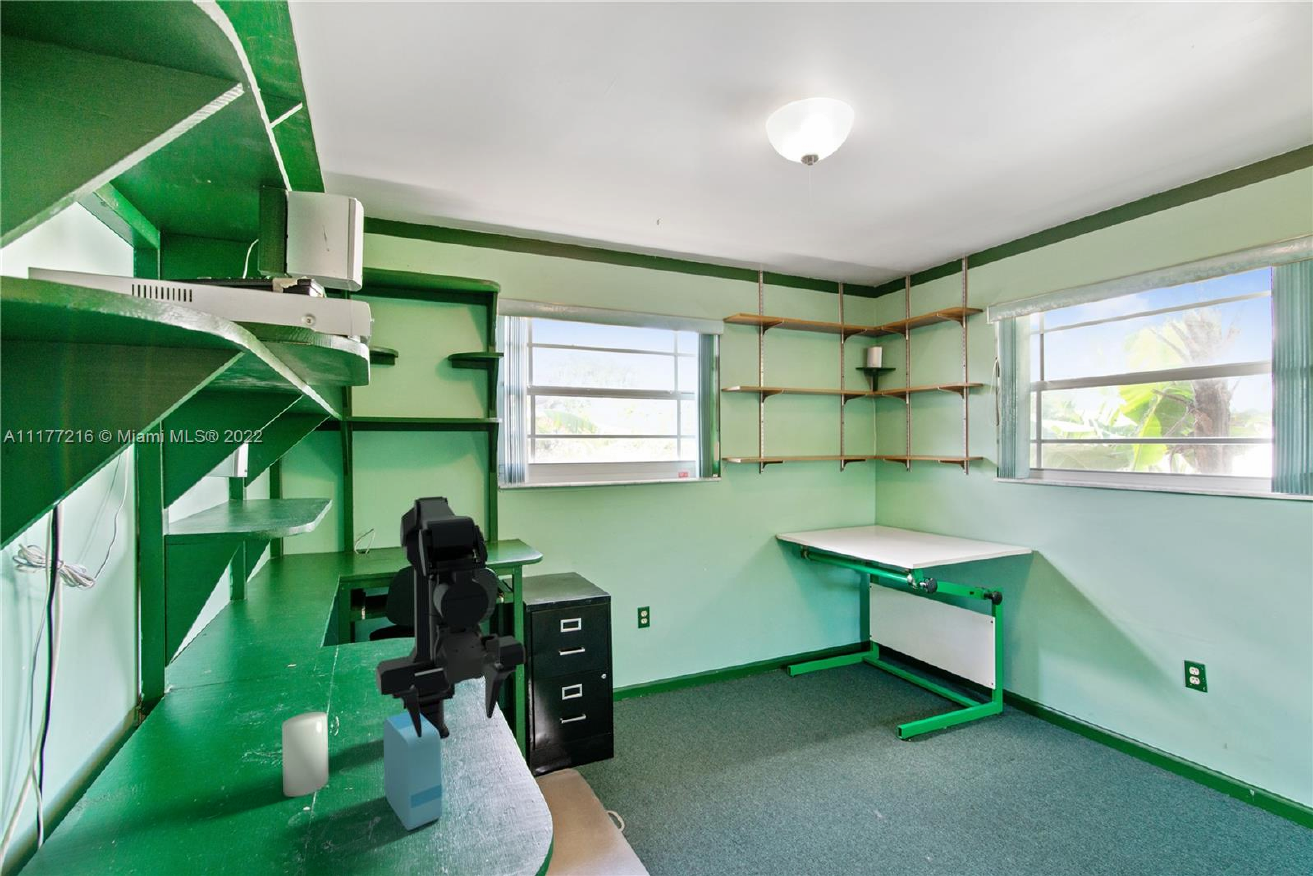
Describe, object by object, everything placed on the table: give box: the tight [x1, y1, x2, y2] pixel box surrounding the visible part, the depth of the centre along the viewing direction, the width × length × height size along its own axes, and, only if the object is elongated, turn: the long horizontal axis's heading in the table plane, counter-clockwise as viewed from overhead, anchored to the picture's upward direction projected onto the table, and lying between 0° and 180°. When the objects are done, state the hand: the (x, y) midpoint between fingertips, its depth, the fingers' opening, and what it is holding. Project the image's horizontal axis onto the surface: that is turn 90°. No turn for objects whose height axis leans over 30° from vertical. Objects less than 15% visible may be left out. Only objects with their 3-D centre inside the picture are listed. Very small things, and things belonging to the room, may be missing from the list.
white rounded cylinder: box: [281, 711, 330, 798], centre depth 92 cm, size 6×6×10 cm
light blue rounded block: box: [382, 711, 444, 831], centre depth 84 cm, size 12×4×12 cm, turn 39°
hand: (455, 726), depth 80 cm, fingers open, 9 cm apart
